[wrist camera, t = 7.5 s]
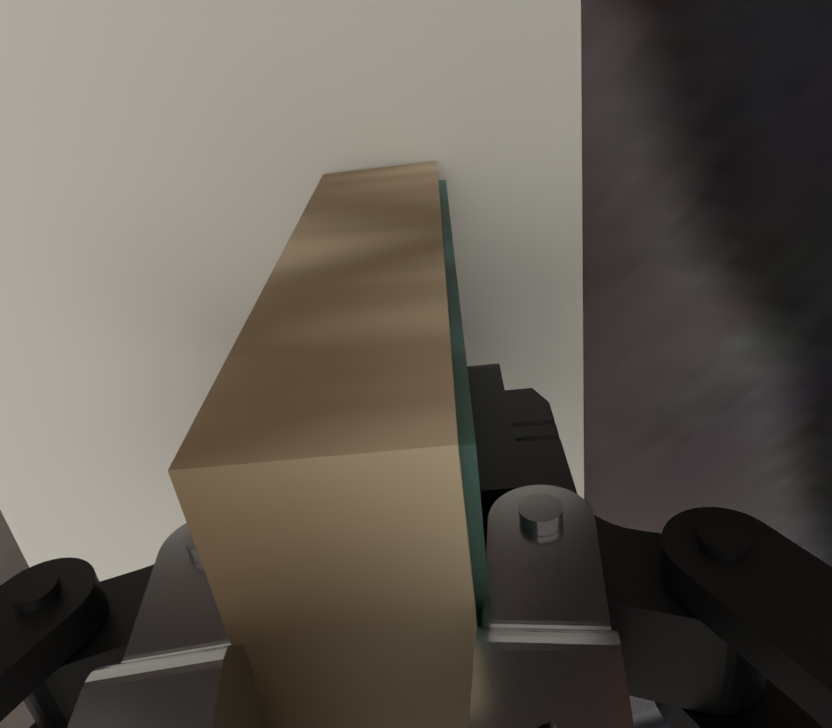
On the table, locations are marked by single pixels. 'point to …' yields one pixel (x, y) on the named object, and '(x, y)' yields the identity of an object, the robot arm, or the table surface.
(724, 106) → the table surface
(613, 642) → the robot arm
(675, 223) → the table surface
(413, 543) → the slab
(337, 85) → the mat
